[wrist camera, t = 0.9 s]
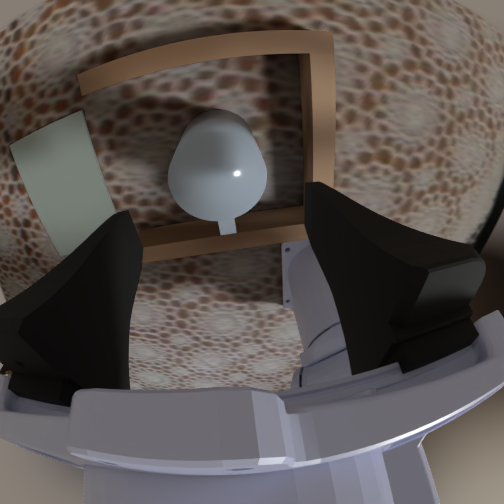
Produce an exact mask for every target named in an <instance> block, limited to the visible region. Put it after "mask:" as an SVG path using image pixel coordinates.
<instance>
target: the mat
mask: <svg viewBox="0 0 504 504" xmlns="http://www.w3.org/2000/svg"><path fill="white" fill-rule="evenodd" d="M10 149H11V152H12V154H13V157H14V160H15V163H16V165H17V168H18V171H19V173H20V176H21V178H22V180H23V183H24V185H25V188H26V190H27V192H28V194H29V197H30V199H31V201H32V203H33V205H34V208H35V210H36V212H37V214H38V216H39V218H40V220H41V222H42V224H43V226H44V228H45V230H46V231H47V233H48V235H49V237H50V239H51V241H52V242H53V244H54V246H55V248H56V250H57V251H58V253H59V255H60V256H65V255H70V254H71V253H72V252H73V251H74V250H75V249H76V248H77V247H78V246H79V245H80V244H81V243H82V242H84V241H85V240H86V239H87V238H88V237H89V236H90V235H91V234H92V233H93V232H94V231H95V230H96V229H97V228H98V227H99V226H100V225H101V224H102V223H104V222H105V221H106V220H107V219H108V218H109V217H111V216H112V215H113V214H115V213H117V212H116V210H115V207H114V204H113V202H112V199H111V197H110V194H109V191H108V189H107V186H106V183H105V180H104V177H103V175H102V172H101V169H100V166H99V163H98V160H97V157H96V154H95V150H94V147H93V144H92V141H91V137H90V134H89V131H88V127H87V124H86V120H85V116H84V113H83V110H81V111H78V112H76V113H73V114H71V115H69V116H66V117H64V118H62V119H60V120H57V121H55V122H53V123H51V124H49V125H47V126H45V127H43V128H41V129H39V130H37V131H35V132H33V133H31V134H29V135H27V136H25V137H24V138H22V139H20V140H18V141H16V142H15V143H13V144H11V145H10Z"/></svg>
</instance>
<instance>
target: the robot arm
mask: <svg viewBox="0 0 504 504" xmlns="http://www.w3.org/2000/svg"><path fill="white" fill-rule="evenodd" d="M304 226H305V229H306V232H307V236H308V239H306V240H299V241H292V242H285V243H281V254H282V287H283V308H284V309H286V310H288V309H293V310H294V314H295V318H296V321H297V325H298V329H299V333H300V337H301V341H302V345H303V349H304V352H302V353H300V359H301V363H302V366H301V367H299V368H297V369H296V370H295V372H294V374H293V378H292V382H291V389H289V390H283V391H277V392H271V391H268V390H263V389H257V388H252V387H211V388H197V389H177V390H130V381H129V330H130V319H131V313H132V308H133V303H134V299H135V294H136V290H137V286H138V282H139V277H140V273H141V268H142V260H143V249H144V248H143V246H142V244H141V241H140V239H139V236H138V234H137V231H136V229H135V226H134V224H133V221H132V218H131V216H130V213H129V211H128V210H127V211H122V212H118V213H115V214H113V215H112V216H111V217H109V218H108V219H107V220H106V221H105V222H104V223H102V224H101V225H100V226H99V227H98V228H97V229H96V230H95V231H94V232H93V233H92V234H91V235H90V236H89V237H88V238H87V239H86V240H85V241H84V242H82V243H81V244H80V245H79V246H78V247H77V248H76V249H75V250H74V251H73V252H72V253H71V254H70V255H69V256H68V257H66V258H65V259H64V260H63V261H62V262H61V263H60V264H58V265H57V266H56V267H55V268H54V269H53V270H51V271H50V272H49V273H48V274H46V275H45V276H44V277H42V278H41V279H40V280H38V281H37V282H36V283H34V284H33V285H32V286H30V287H29V288H27V289H26V290H24V291H23V292H22V293H20V294H18V295H17V296H15V297H14V298H12V299H11V300H9V301H7V302H5V303H4V304H2V305H0V362H1V363H2V364H3V365H4V366H6V367H7V368H8V369H9V370H10V371H12V374H11V378H9V377H7V376H5V375H2V374H0V437H1V438H3V439H5V440H7V441H9V442H11V443H13V444H15V445H17V446H19V447H21V448H24V449H26V450H29V451H31V452H33V453H36V454H38V455H41V456H44V457H47V458H50V459H52V460H55V461H58V462H61V463H64V464H68V465H71V466H74V467H78V468H81V469H84V504H440V501H439V498H438V494H437V490H436V487H435V483H434V480H433V477H432V474H431V470H430V467H429V464H428V461H427V458H426V455H425V452H424V449H423V446H422V444H421V442H422V440H423V439H424V437H425V436H426V434H427V433H429V432H431V431H433V430H435V429H437V428H439V427H441V426H443V425H445V424H446V423H448V422H450V421H452V420H453V419H455V418H457V417H459V416H460V415H462V414H464V413H465V412H467V411H469V410H470V409H472V408H473V407H475V406H477V405H478V404H480V403H481V402H482V401H484V400H485V399H487V398H489V397H490V396H491V395H493V394H494V393H495V392H496V391H498V390H499V389H500V388H502V387H503V386H504V319H503V317H502V315H501V314H500V312H499V311H498V310H496V311H494V312H492V313H490V314H488V315H486V316H484V317H482V318H480V319H479V320H477V321H476V322H475V323H474V324H473V323H472V321H471V319H470V316H471V315H472V313H473V311H472V310H471V308H470V306H469V305H468V304H469V303H470V301H471V299H472V298H473V296H474V295H475V293H476V291H477V290H478V288H479V286H480V284H481V282H482V280H483V278H484V274H485V269H486V268H485V262H484V261H483V259H482V258H481V256H480V255H479V254H478V253H477V251H476V250H475V249H474V248H473V247H472V246H471V245H469V244H464V243H460V242H456V241H451V240H447V239H443V238H440V237H436V236H433V235H430V234H427V233H424V232H420V231H418V230H415V229H412V228H410V227H407V226H404V225H402V224H399V223H397V222H395V221H392V220H390V219H388V218H386V217H384V216H381V215H379V214H377V213H375V212H373V211H372V210H370V209H368V208H366V207H364V206H362V205H360V204H359V203H357V202H355V201H353V200H352V199H350V198H348V197H347V196H345V195H343V194H341V193H340V192H338V191H336V190H335V189H333V188H331V187H330V186H328V185H326V184H324V183H322V182H320V181H318V182H307V183H305V206H304ZM286 248H289V249H288V250H285V249H286Z"/></svg>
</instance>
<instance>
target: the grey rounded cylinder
mask: <svg viewBox="0 0 504 504" xmlns="http://www.w3.org/2000/svg"><path fill="white" fill-rule="evenodd" d="M266 181H267V171H266V166H265V163H264V160H263V157H262V155H261V153H260V150H259V148H258V145H257V143H256V141H255V138H254V136H253V133H252V131H251V129H250V127H249V125H248V124H247V123H246V121H245V120H244V119H243V118H241V117H240V116H239V115H237V114H235V113H233V112H230V111H227V110H210V111H206V112H204V113H201V114H199V115H198V116H196V117H195V118H194V119H193V120H191V121H190V123H189V124H188V125H187V127H186V128H185V130H184V133H183V135H182V137H181V139H180V142H179V144H178V146H177V149H176V151H175V153H174V156H173V158H172V161H171V163H170V166H169V170H168V185H169V189H170V192H171V194H172V196H173V198H174V200H175V201H176V203H177V204H178V205H179V206H180V207H181V208H182V209H183V210H184V211H186V212H187V213H189V214H190V215H192V216H194V217H197V218H200V219H203V220H208V221H218V224H219V229H220V234H221V235H226V234H233V233H237V232H236V223H235V218H236V217H238V216H241V215H243V214H244V213H246V212H247V211H249V210H250V209H251V208H252V207H253V206H254V205H256V203H257V202H258V201H259V199H260V198H261V196H262V194H263V192H264V190H265V186H266Z"/></svg>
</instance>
